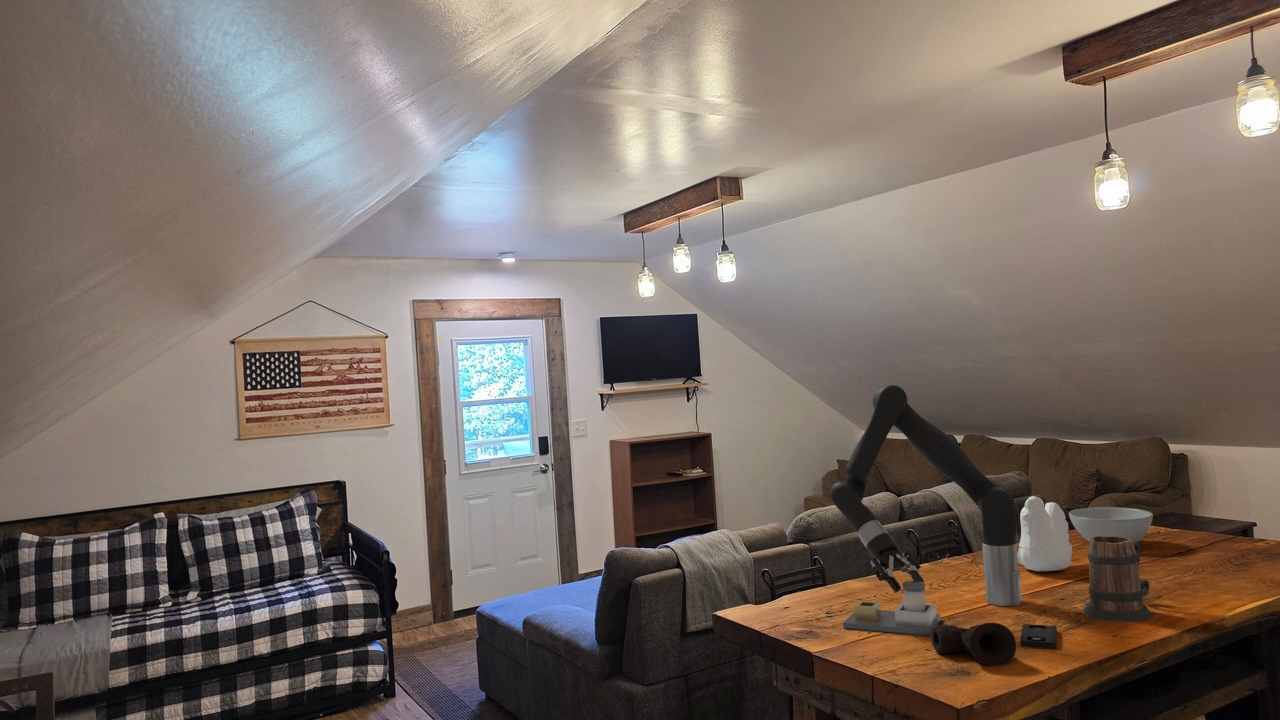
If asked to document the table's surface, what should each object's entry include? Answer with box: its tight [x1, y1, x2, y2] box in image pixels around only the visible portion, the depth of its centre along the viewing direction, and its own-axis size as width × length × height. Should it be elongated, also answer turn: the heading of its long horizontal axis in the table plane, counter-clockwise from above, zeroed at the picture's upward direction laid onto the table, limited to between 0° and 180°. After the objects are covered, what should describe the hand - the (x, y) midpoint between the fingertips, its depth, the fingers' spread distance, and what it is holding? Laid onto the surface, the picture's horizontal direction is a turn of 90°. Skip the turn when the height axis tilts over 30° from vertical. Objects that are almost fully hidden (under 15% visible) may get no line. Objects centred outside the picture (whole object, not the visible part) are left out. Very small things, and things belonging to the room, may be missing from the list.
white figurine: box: [1017, 495, 1073, 572], centre depth 280 cm, size 25×16×25 cm, turn 116°
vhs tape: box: [1019, 623, 1058, 650], centre depth 212 cm, size 14×8×2 cm, turn 153°
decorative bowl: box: [1068, 506, 1154, 543], centre depth 306 cm, size 27×27×12 cm
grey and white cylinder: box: [901, 580, 926, 612], centre depth 229 cm, size 6×6×10 cm
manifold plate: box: [842, 600, 942, 637], centre depth 232 cm, size 23×15×5 cm, turn 60°
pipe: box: [930, 622, 1017, 667], centre depth 203 cm, size 10×15×15 cm
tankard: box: [1081, 536, 1154, 623], centre depth 231 cm, size 24×17×20 cm
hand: (910, 587), depth 230 cm, fingers open, 8 cm apart
